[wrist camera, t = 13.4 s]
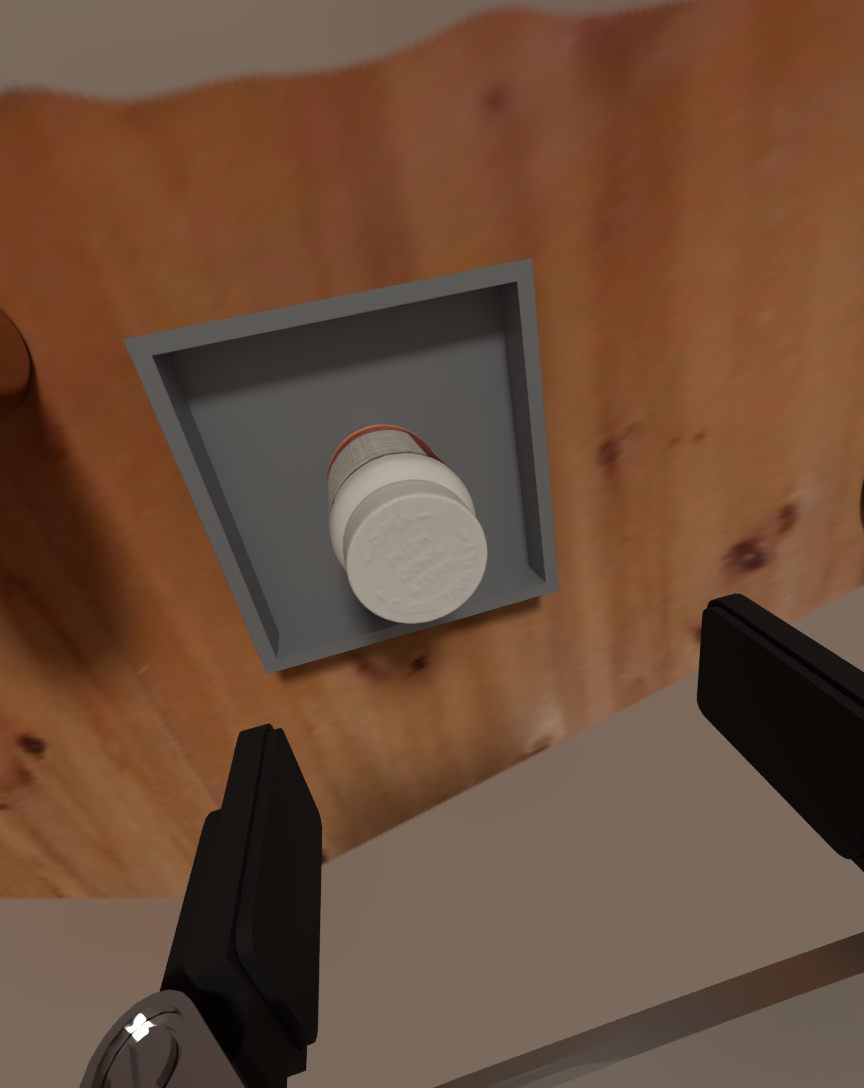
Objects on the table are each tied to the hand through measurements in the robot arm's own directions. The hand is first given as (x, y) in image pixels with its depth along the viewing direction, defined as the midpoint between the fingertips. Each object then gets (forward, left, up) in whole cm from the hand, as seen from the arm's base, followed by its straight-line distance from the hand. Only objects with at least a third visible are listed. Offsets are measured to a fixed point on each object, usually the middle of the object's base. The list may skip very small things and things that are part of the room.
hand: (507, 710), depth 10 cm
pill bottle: (0, 0, -19) cm, 19 cm away
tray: (+1, 0, -19) cm, 19 cm away
